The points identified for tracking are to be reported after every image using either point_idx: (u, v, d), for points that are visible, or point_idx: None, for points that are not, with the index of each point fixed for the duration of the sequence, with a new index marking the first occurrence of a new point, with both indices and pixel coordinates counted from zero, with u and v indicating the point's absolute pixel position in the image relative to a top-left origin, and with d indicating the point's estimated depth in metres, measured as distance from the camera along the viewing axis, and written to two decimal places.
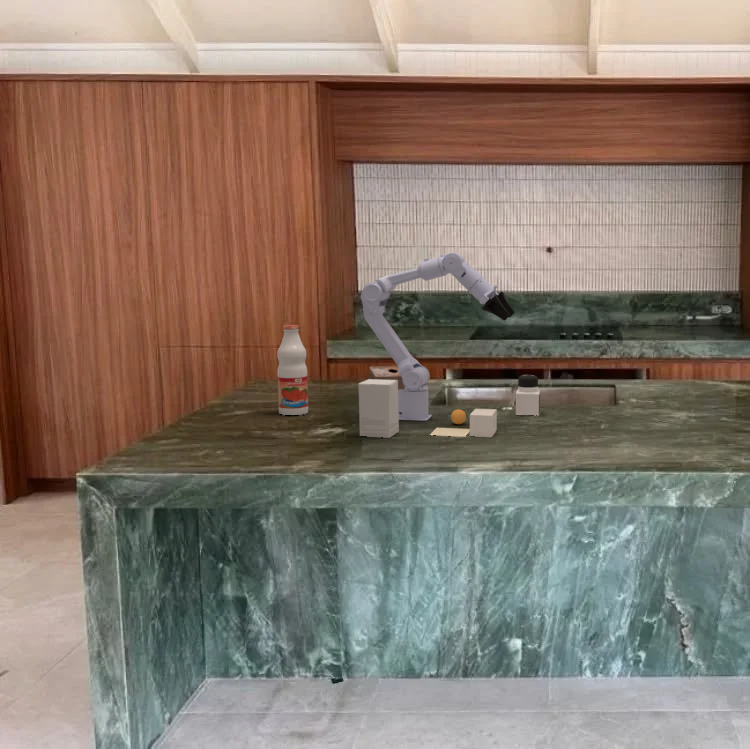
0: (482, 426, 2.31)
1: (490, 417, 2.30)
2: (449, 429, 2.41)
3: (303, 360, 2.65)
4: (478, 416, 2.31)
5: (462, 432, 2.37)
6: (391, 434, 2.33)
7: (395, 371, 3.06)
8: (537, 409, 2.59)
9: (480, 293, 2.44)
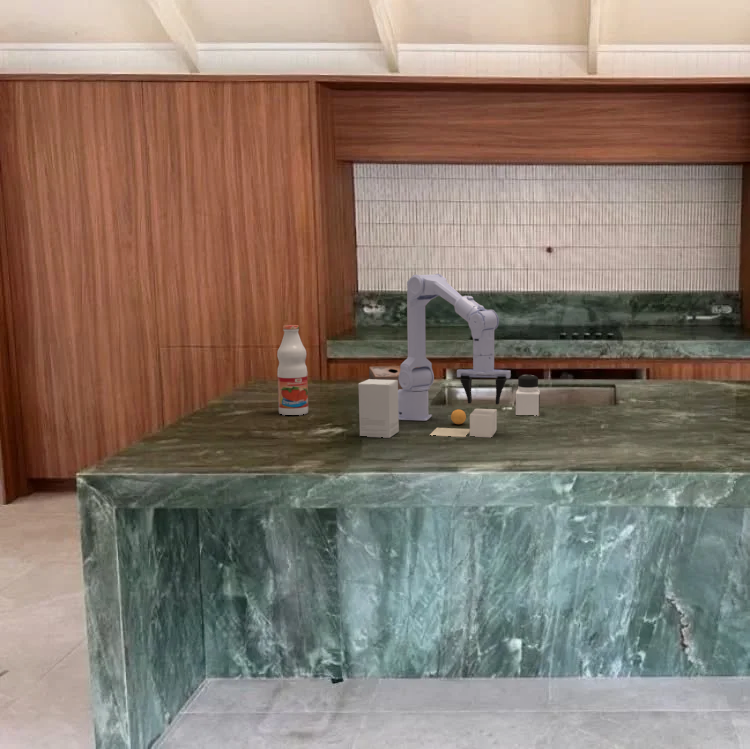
0: (482, 426, 2.31)
1: (490, 417, 2.30)
2: (449, 429, 2.41)
3: (303, 360, 2.65)
4: (478, 416, 2.31)
5: (462, 432, 2.37)
6: (391, 434, 2.33)
7: (395, 371, 3.06)
8: (537, 409, 2.59)
9: None
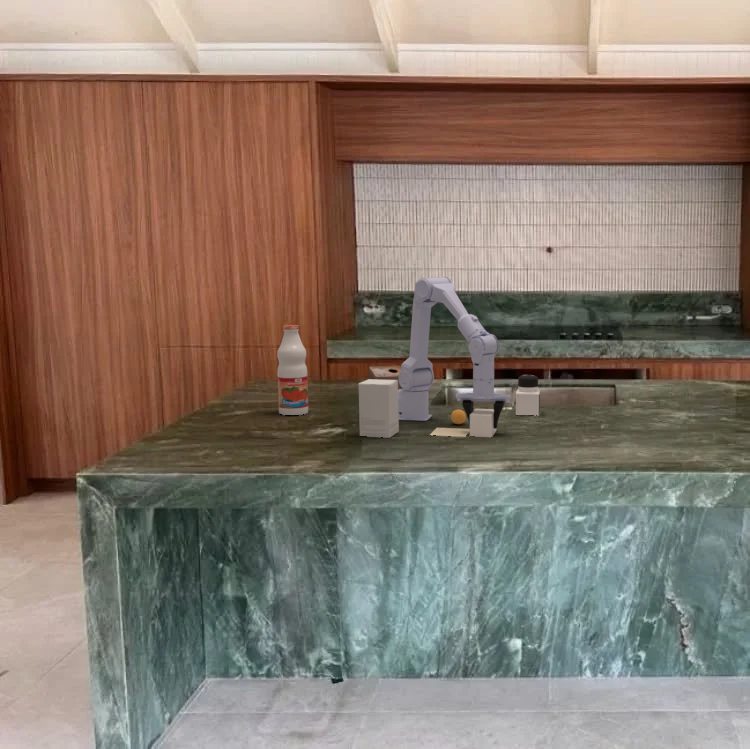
0: (482, 426, 2.31)
1: (490, 417, 2.30)
2: (449, 429, 2.41)
3: (303, 360, 2.65)
4: (478, 416, 2.31)
5: (462, 432, 2.37)
6: (391, 434, 2.33)
7: (395, 371, 3.06)
8: (537, 409, 2.59)
9: None
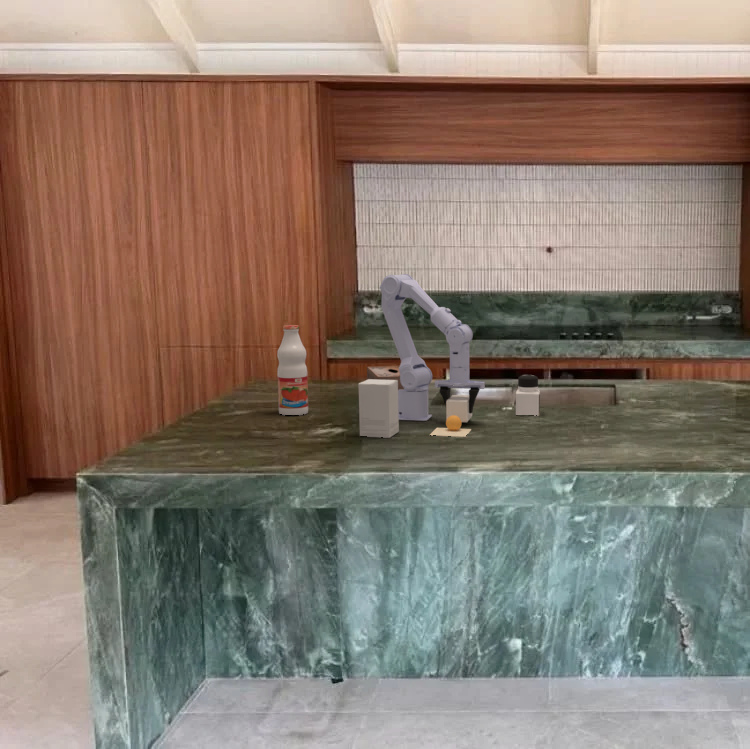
0: (458, 411, 2.45)
1: (465, 403, 2.44)
2: None
3: (303, 360, 2.65)
4: (454, 402, 2.45)
5: (462, 432, 2.37)
6: (391, 434, 2.33)
7: (393, 371, 3.06)
8: (537, 409, 2.59)
9: None
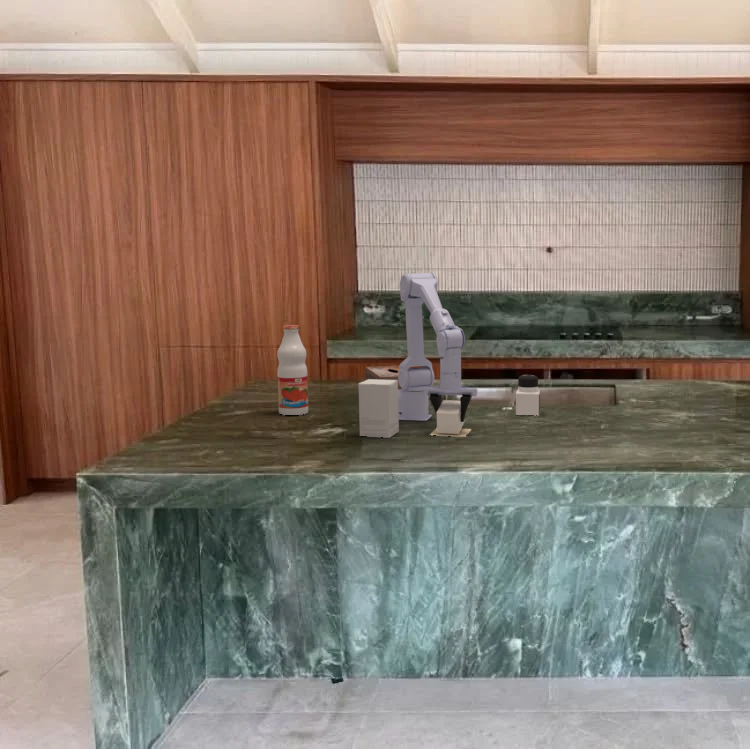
0: (449, 423, 2.33)
1: (456, 415, 2.31)
2: None
3: (303, 360, 2.65)
4: (445, 414, 2.32)
5: (462, 432, 2.37)
6: (391, 434, 2.33)
7: (391, 371, 3.06)
8: (537, 409, 2.59)
9: None
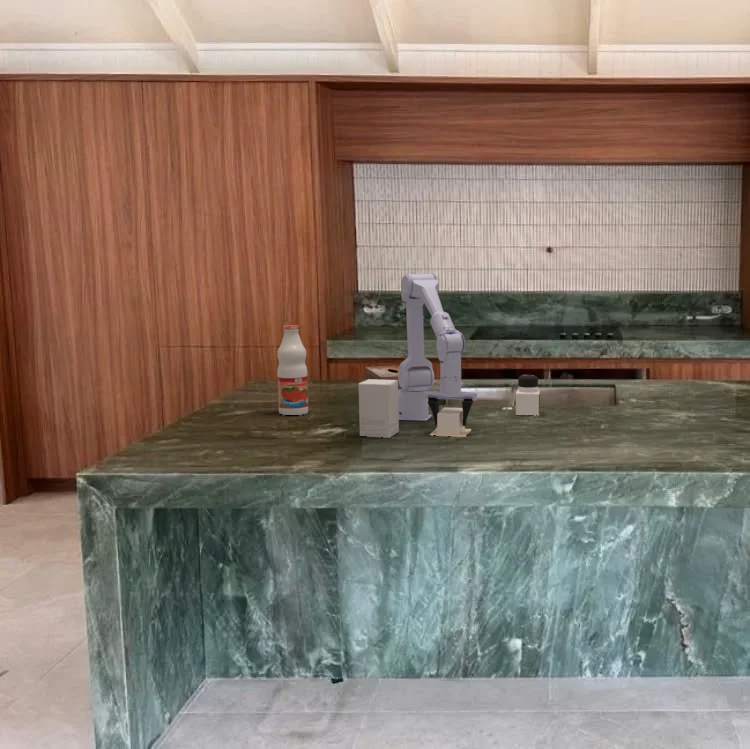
0: (449, 425, 2.33)
1: (457, 416, 2.33)
2: None
3: (303, 360, 2.65)
4: (445, 415, 2.33)
5: (462, 432, 2.37)
6: (391, 434, 2.33)
7: (391, 371, 3.06)
8: (537, 409, 2.59)
9: None
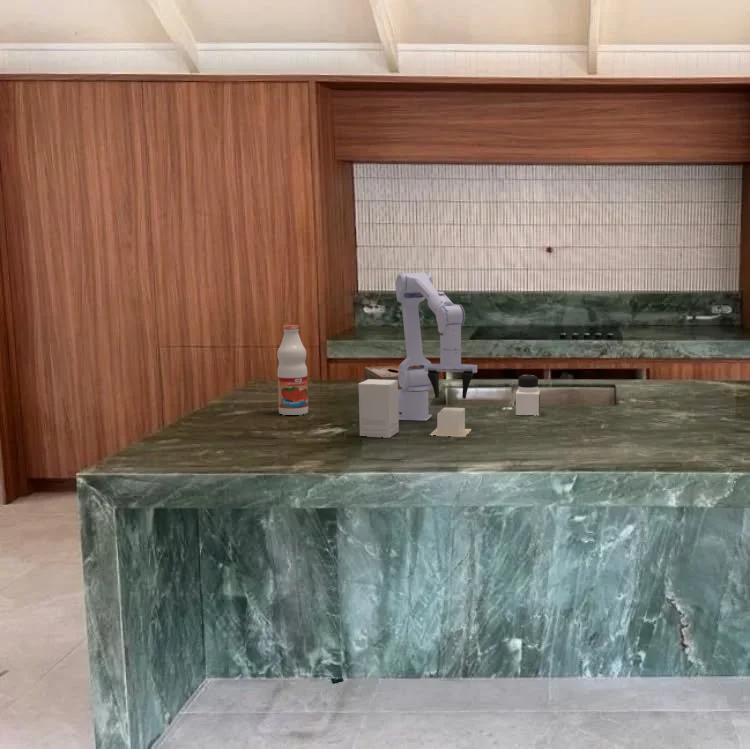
0: (449, 425, 2.33)
1: (457, 416, 2.33)
2: None
3: (303, 360, 2.65)
4: (445, 415, 2.33)
5: (462, 432, 2.37)
6: (391, 434, 2.33)
7: (390, 371, 3.06)
8: (537, 409, 2.59)
9: None
